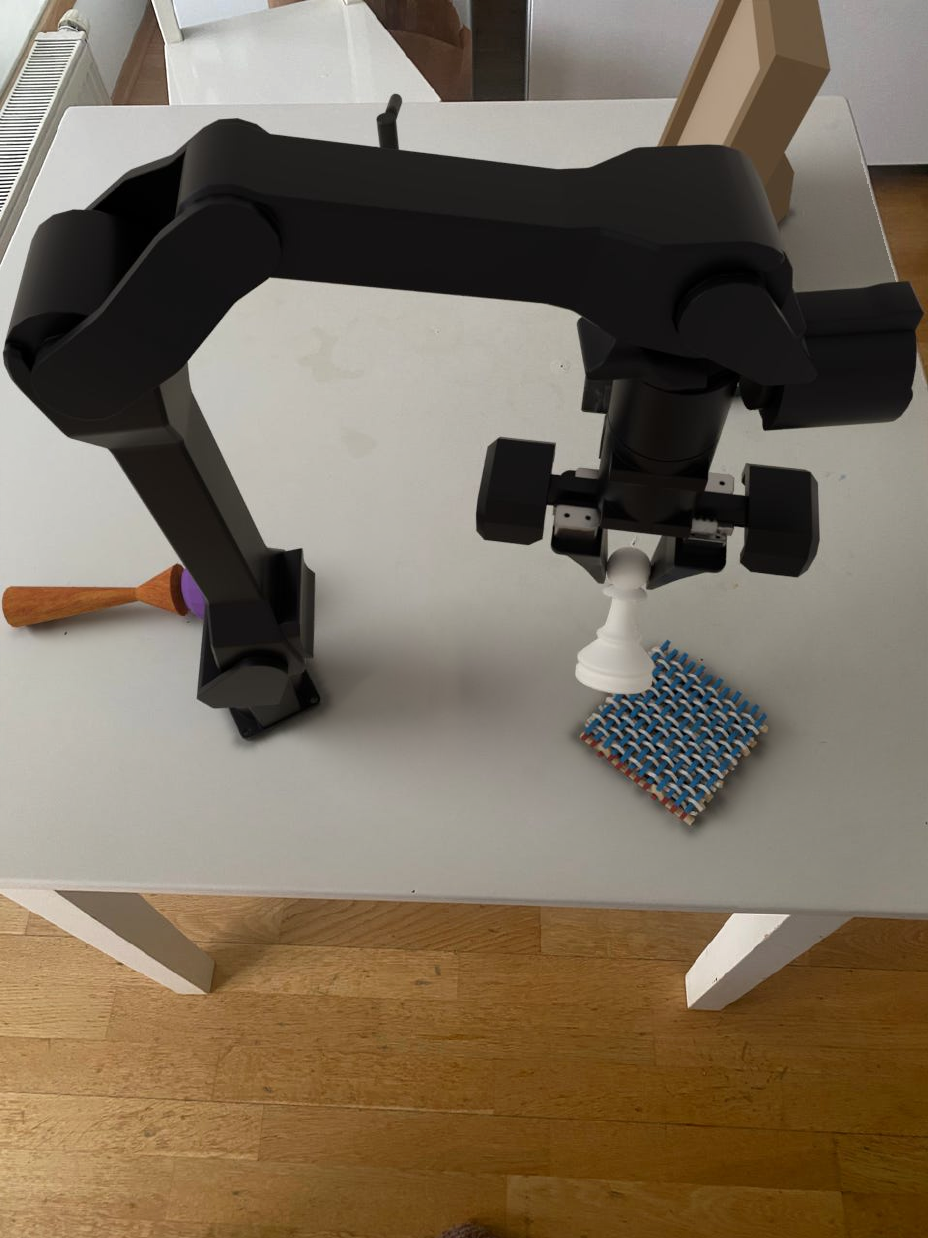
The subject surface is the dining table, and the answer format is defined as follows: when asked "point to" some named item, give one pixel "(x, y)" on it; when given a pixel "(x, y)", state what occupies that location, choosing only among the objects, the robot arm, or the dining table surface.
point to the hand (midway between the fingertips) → (625, 580)
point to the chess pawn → (620, 631)
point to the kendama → (102, 598)
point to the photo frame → (754, 86)
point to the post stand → (389, 123)
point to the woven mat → (675, 734)
